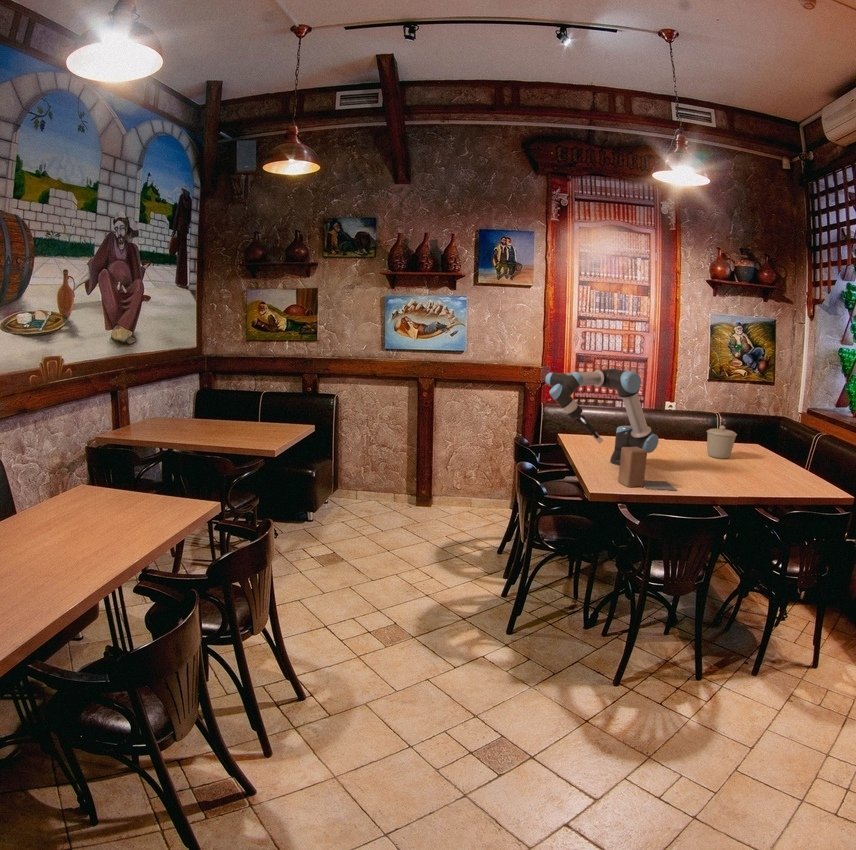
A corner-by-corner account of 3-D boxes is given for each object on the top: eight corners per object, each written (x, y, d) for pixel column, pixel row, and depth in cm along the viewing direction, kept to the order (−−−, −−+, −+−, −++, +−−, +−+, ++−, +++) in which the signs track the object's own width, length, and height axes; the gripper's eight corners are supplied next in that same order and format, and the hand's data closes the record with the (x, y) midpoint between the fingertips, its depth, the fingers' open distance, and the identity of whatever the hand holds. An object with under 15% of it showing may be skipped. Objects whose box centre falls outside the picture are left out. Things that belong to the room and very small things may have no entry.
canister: (734, 461, 387) (739, 429, 383) (703, 458, 394) (707, 426, 390) (732, 456, 404) (737, 424, 400) (703, 452, 411) (707, 421, 407)
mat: (636, 480, 334) (636, 479, 334) (665, 482, 334) (666, 481, 334) (646, 489, 318) (646, 488, 318) (677, 491, 318) (677, 489, 318)
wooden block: (627, 487, 320) (631, 451, 316) (617, 482, 330) (620, 446, 326) (644, 487, 323) (648, 450, 319) (633, 481, 332) (637, 446, 328)
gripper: (564, 411, 326) (592, 443, 329) (569, 416, 313) (598, 449, 316) (575, 402, 325) (603, 434, 328) (581, 406, 312) (610, 439, 315)
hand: (601, 441), depth 322 cm, fingers closed
